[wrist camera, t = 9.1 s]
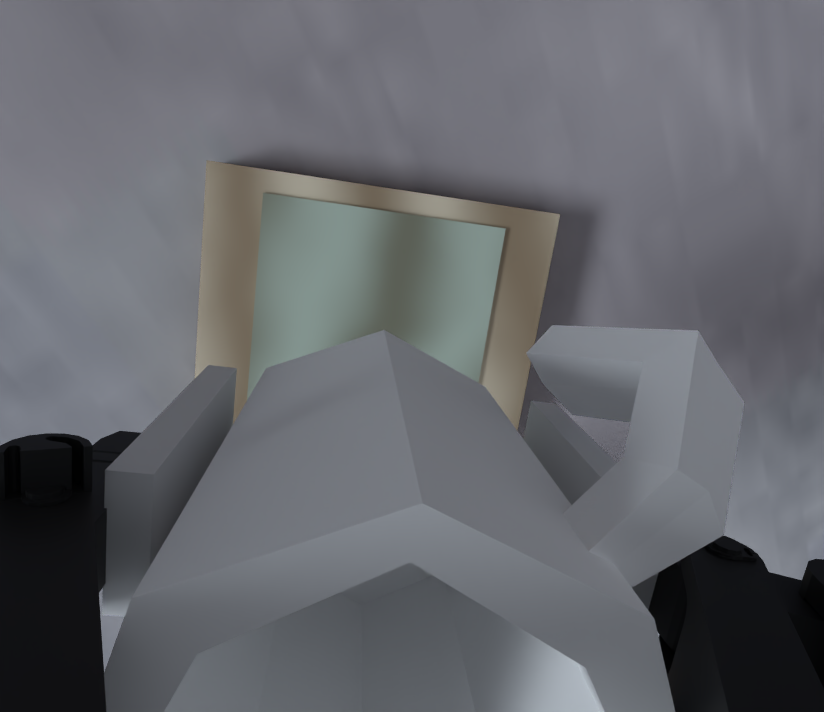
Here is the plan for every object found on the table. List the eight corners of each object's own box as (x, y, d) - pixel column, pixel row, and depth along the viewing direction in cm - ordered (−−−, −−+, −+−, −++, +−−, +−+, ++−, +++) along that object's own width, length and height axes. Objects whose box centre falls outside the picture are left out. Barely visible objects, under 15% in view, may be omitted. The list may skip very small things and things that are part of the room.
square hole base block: (189, 637, 33) (137, 769, 25) (217, 163, 27) (160, 145, 19) (462, 651, 35) (492, 778, 27) (546, 214, 29) (616, 215, 21)
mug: (359, 640, 18) (361, 1099, 9) (162, 454, 16) (-112, 795, 7) (661, 409, 17) (1028, 647, 8) (493, 178, 15) (719, 122, 6)
